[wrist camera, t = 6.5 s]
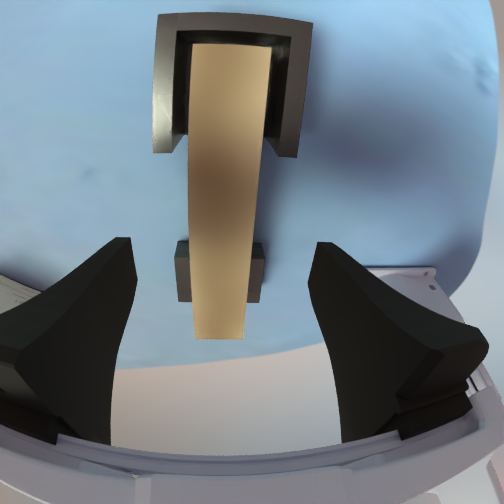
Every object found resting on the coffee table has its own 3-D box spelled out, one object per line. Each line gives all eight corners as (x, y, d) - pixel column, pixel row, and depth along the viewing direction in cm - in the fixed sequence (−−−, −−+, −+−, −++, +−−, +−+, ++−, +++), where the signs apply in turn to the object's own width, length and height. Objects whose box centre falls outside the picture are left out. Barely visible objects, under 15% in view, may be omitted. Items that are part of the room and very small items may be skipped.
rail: (259, 55, 12) (271, 47, 9) (239, 296, 21) (242, 339, 18) (200, 52, 12) (193, 43, 9) (197, 296, 21) (195, 339, 18)
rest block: (261, 242, 21) (265, 259, 19) (256, 285, 23) (259, 302, 22) (177, 241, 20) (174, 257, 19) (181, 284, 23) (178, 301, 21)
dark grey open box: (283, 39, 13) (312, 22, 8) (274, 132, 17) (296, 158, 12) (179, 34, 13) (157, 14, 8) (175, 128, 16) (152, 153, 11)
